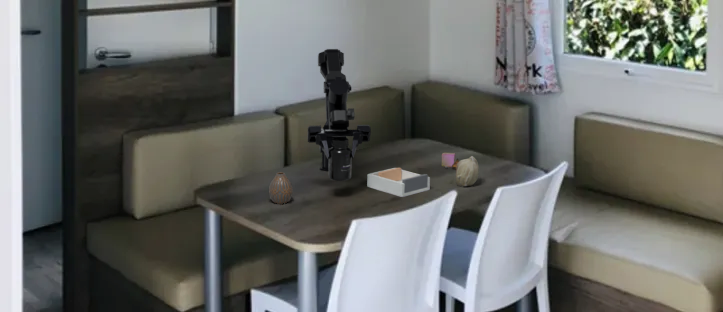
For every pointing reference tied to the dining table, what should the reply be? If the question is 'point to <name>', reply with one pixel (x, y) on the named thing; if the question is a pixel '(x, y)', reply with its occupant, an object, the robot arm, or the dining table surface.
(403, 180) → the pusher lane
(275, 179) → the vase
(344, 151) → the supplement bottle
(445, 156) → the perfume bottle
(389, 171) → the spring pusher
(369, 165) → the dining table surface
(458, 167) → the garlic bulb
